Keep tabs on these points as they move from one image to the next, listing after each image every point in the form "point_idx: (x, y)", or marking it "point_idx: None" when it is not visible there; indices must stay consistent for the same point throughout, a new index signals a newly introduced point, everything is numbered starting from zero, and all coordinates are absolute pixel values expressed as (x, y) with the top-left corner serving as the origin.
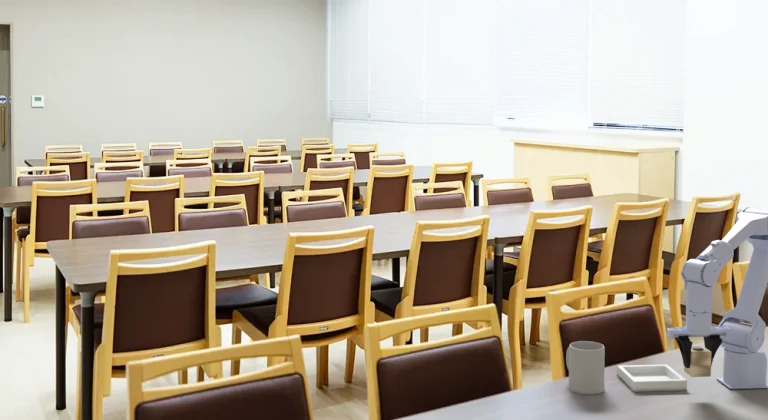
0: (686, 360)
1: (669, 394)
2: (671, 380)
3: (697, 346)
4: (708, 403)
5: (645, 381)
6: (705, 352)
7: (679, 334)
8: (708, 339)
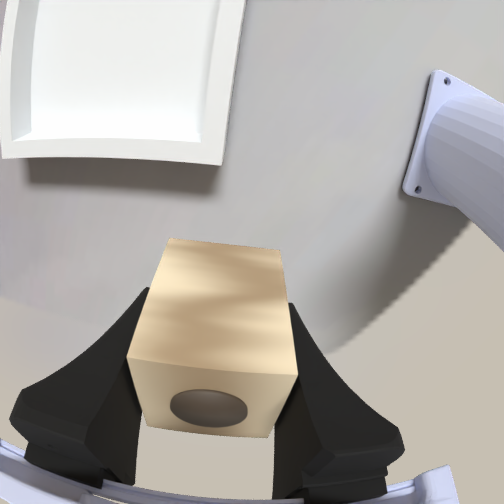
0: None
1: (132, 186)
2: (143, 155)
3: (242, 373)
4: None
5: (36, 156)
6: (229, 433)
7: (45, 482)
8: (288, 479)
